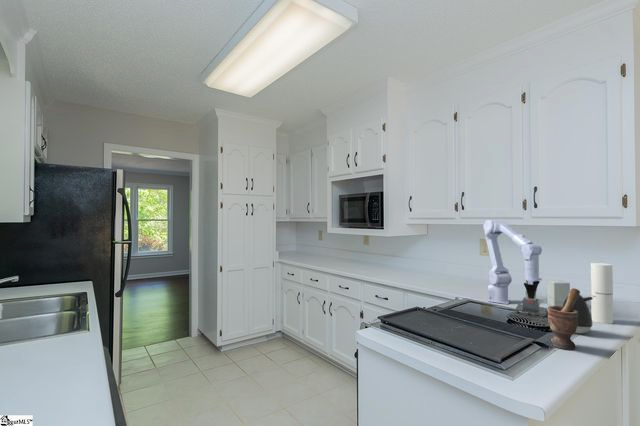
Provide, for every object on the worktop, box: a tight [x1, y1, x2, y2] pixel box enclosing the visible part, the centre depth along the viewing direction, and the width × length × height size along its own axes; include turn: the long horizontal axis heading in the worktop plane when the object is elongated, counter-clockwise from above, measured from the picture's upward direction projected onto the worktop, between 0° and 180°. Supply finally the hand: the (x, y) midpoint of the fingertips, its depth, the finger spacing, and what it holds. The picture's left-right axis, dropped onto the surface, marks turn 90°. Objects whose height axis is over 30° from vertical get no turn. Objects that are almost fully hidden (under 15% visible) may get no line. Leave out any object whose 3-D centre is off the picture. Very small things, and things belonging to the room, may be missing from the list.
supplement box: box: [546, 279, 571, 307], centre depth 167 cm, size 7×7×13 cm
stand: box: [514, 296, 548, 317], centre depth 157 cm, size 12×12×6 cm
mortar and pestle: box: [547, 287, 581, 351], centre depth 117 cm, size 12×9×20 cm
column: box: [525, 289, 537, 301], centre depth 157 cm, size 4×4×8 cm
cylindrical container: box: [590, 262, 614, 325], centre depth 143 cm, size 7×7×25 cm
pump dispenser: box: [562, 294, 593, 335], centre depth 130 cm, size 10×10×15 cm
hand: (532, 297), depth 157 cm, fingers open, 7 cm apart
